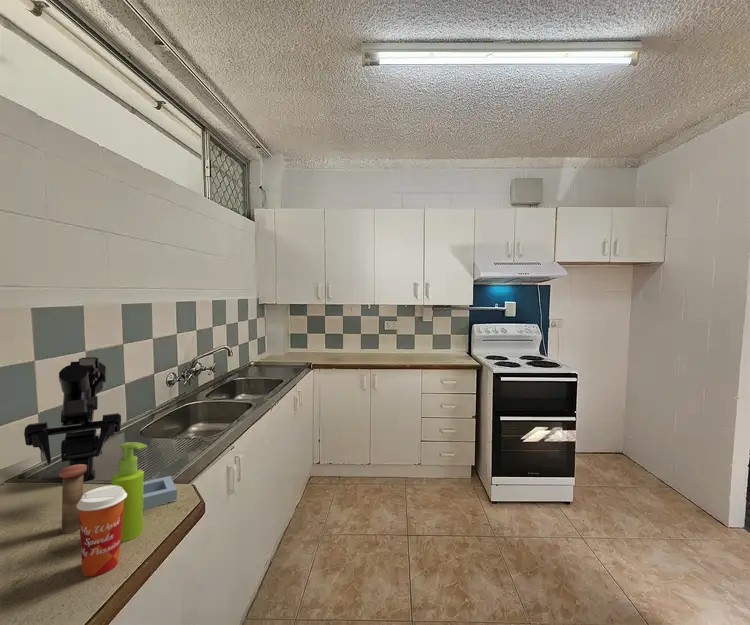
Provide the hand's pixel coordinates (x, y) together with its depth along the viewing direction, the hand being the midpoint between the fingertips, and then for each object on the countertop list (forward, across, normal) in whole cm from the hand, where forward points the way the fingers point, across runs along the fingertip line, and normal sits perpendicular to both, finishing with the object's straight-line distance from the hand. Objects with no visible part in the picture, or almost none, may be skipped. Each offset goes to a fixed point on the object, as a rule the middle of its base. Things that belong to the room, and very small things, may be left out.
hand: (74, 459), depth 89 cm
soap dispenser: (+22, +10, -3) cm, 24 cm away
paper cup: (+28, +5, -9) cm, 30 cm away
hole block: (+11, +16, +8) cm, 21 cm away
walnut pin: (+15, 0, +4) cm, 15 cm away
